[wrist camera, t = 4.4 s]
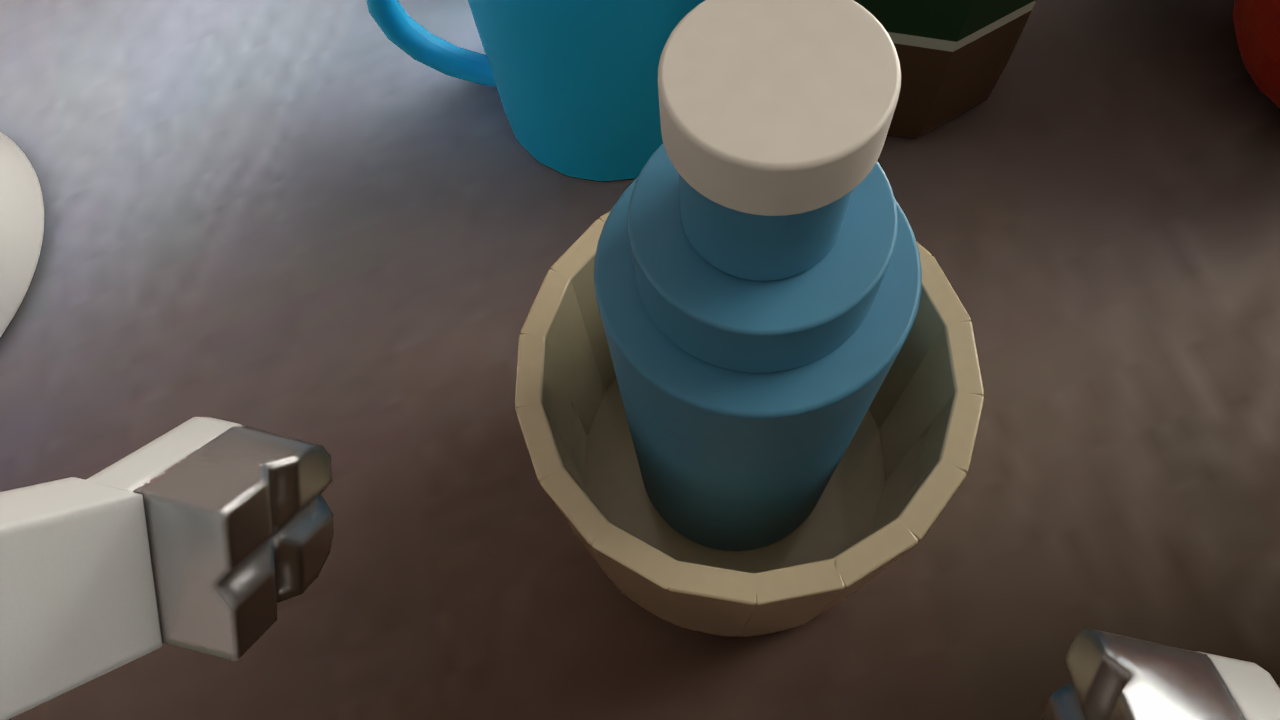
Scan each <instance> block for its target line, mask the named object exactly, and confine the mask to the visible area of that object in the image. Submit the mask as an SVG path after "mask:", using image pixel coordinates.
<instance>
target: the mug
mask: <svg viewBox="0 0 1280 720" xmlns="http://www.w3.org/2000/svg"><path fill="white" fill-rule="evenodd" d="M704 1H705V0H468V2H469V5H470V8H471V11H472V14H473V17H474V20H475V23H476V26H477V29H478V32H479V35H480V38H481V41H482V44H483V47H484V50H485V53H486V55H484V54H480V53H477V52H473V51H470V50H466V49H463V48H460V47H457V46H455V45H453V44H451V43H449V42H447V41H445V40H443V39H441V38H439V37H437V36H435V35H433V34H431V33H429V32H428V31H427V30H426V29H424V28H423V27H422V26H421V25H419V24H418V23H417V22H416V21H415V20H413V19H412V18H411V17H410V16H408V15H407V13H406V12H405V10H404V9H403V7H402V6H401V4H400V3H399V1H398V0H367V5H368V9H369V13H370V14H371V16H372V17H373V18H374V20H375V21H376V22H377V24H378V25H379V27H380V28H381V29H382V31H383V32H384V34H385V35H386V36H387V38H388V39H389V40H390V41H392V42H393V43H394V44H395V45H397V46H398V47H399V48H401V49H402V50H403V51H404V52H406V53H407V54H408V55H410V56H411V57H412V58H413V59H415V60H417V61H419V62H421V63H423V64H425V65H427V66H429V67H431V68H433V69H436V70H438V71H440V72H442V73H444V74H446V75H449V76H452V77H456V78H459V79H463V80H467V81H470V82H474V83H477V84H481V85H487V86H497V89H498V92H499V95H500V98H501V101H502V104H503V107H504V110H505V113H506V116H507V118H508V121H509V123H510V125H511V128H512V130H513V132H514V135H515V137H516V139H517V141H518V142H519V143H520V144H521V145H522V146H523V147H524V148H525V149H526V150H527V151H528V152H529V153H530V154H531V155H532V156H533V157H534V158H535V159H536V160H537V161H538V162H540V163H542V164H544V165H546V166H548V167H550V168H552V169H554V170H556V171H558V172H560V173H562V174H564V175H566V176H571V177H577V178H583V179H589V180H595V181H601V182H603V181H612V180H622V179H632V178H637V177H638V176H639V174H640V172H641V170H642V169H643V167H644V166H645V164H646V163H647V161H648V160H649V159H650V157H651V156H652V154H653V153H654V152H655V151H656V150H657V149H658V148H659V147H660V146H661V145H662V144H663V140H662V133H661V123H660V109H659V95H658V66H659V61H660V57H661V54H662V51H663V48H664V46H665V44H666V42H667V40H668V38H669V36H670V35H671V33H672V31H673V30H674V29H675V27H676V26H677V25H678V23H679V22H680V21H681V20H682V19H683V18H684V17H685V16H686V15H687V14H688V13H689V12H690V11H691V10H693V9H694V8H695V7H696V6H698V5H699V4H701V3H702V2H704Z"/></svg>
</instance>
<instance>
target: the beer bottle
mask: <svg viewBox="0 0 1280 720" xmlns="http://www.w3.org/2000/svg"><path fill="white" fill-rule="evenodd" d="M854 1H855V2H857V3H858V4H860V5H861V6H863V7H864V8H865V9H867V10H868V11H869V12H870V13H871V14H872V15H874V17H875V18H876V19H877V20H878V21H879V22H880V23H881V24H882V25H883V27H884V28H885V30H886V31H887V33H888V34H889V36H890V38H891V40H892V42H893V44H894V46H895V48H896V52H897V55H898V58H899V62H900V69H901V88H900V93H899V98H898V102H897V105H896V108H895V111H894V114H893V117H892V120H891V124H890V127H889V130H888V133H887V134H888V135H894V136H900V137H906V138H912V139H916V138H918V137H920V136H922V135H923V134H925V133H927V132H929V131H931V130H933V129H934V128H936V127H938V126H940V125H942V124H944V123H945V122H947V121H949V120H951V119H953V118H955V117H956V116H958V115H960V114H962V113H964V112H966V111H967V110H969V109H971V108H973V107H975V106H977V105H978V104H980V103H982V102H983V101H985V100H987V98H988V96H989V94H990V93H991V91H992V89H993V87H994V86H995V84H996V82H997V80H998V78H999V77H1000V75H1001V73H1002V71H1003V70H1004V68H1005V66H1006V64H1007V62H1008V60H1009V58H1010V56H1011V54H1012V51H1013V49H1014V47H1015V45H1016V43H1017V41H1018V39H1019V37H1020V34H1021V32H1022V30H1023V28H1024V26H1025V24H1026V22H1027V19H1028V17H1029V15H1030V13H1031V11H1032V9H1033V7H1034V5H1035V2H1036V0H854Z"/></svg>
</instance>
